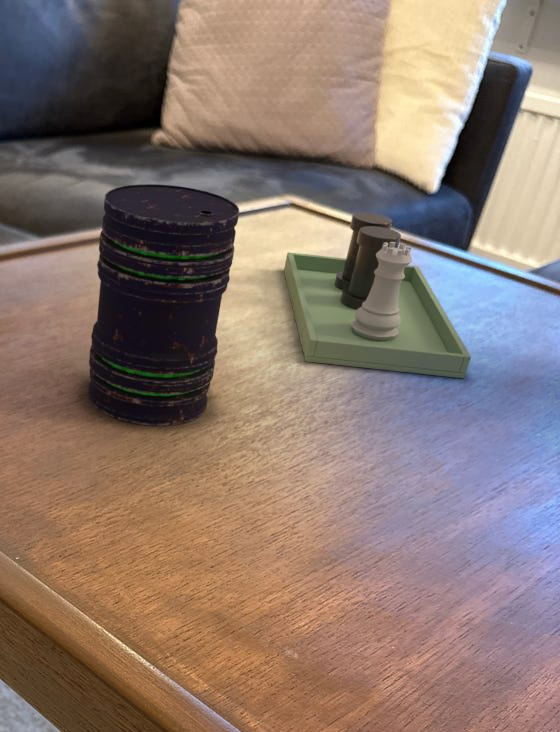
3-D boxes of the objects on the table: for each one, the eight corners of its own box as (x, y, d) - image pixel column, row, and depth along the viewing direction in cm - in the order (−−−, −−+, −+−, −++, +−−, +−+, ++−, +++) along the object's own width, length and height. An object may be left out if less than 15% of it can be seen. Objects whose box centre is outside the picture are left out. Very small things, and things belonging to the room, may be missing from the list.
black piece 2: (380, 298, 101) (399, 228, 97) (387, 313, 98) (406, 241, 93) (337, 294, 101) (354, 223, 97) (342, 309, 98) (360, 236, 93)
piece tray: (413, 284, 107) (418, 266, 106) (464, 378, 87) (471, 357, 86) (283, 270, 107) (287, 252, 106) (305, 361, 88) (310, 339, 86)
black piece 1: (372, 282, 105) (390, 214, 101) (379, 296, 102) (398, 226, 97) (331, 278, 105) (348, 209, 101) (336, 292, 102) (353, 221, 97)
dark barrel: (61, 397, 78) (74, 198, 69) (131, 362, 84) (152, 176, 75) (165, 439, 74) (194, 233, 64) (230, 399, 80) (266, 207, 71)
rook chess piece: (348, 321, 95) (369, 236, 90) (394, 327, 95) (418, 242, 90) (351, 338, 92) (374, 250, 87) (400, 344, 91) (425, 256, 86)
